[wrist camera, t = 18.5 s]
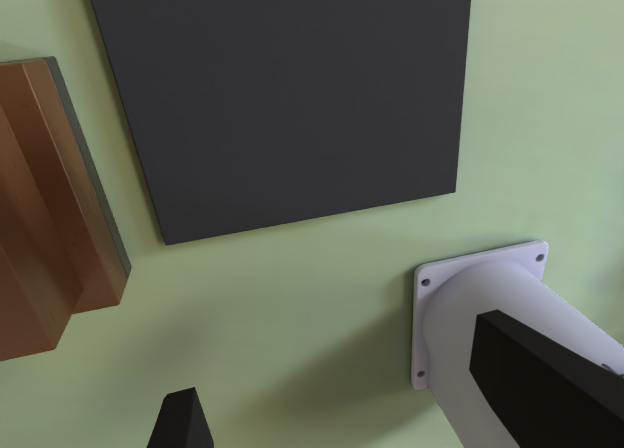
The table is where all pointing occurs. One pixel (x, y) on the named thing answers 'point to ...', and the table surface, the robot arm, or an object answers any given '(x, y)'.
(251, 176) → the mat
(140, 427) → the table surface
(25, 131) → the brown stepped block
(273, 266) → the table surface
